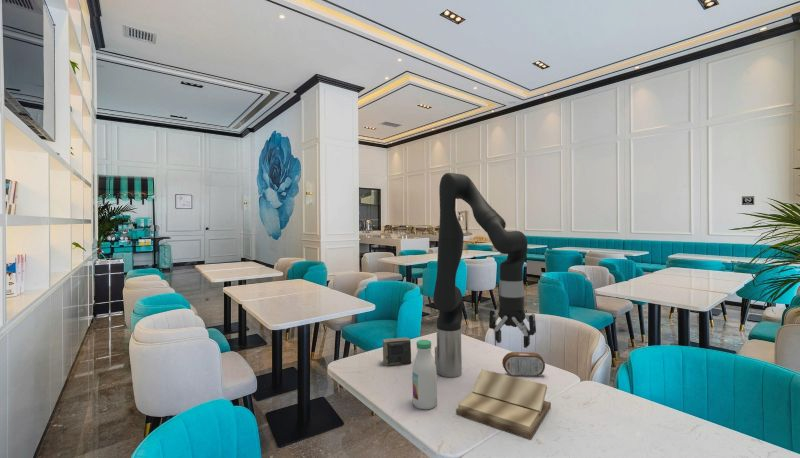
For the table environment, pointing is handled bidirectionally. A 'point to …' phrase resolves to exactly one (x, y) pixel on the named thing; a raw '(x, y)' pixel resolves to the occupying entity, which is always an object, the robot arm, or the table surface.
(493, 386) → the oak plank
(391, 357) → the camera
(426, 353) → the milk bottle
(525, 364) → the tin
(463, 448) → the table surface
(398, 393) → the table surface
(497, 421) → the floor board
